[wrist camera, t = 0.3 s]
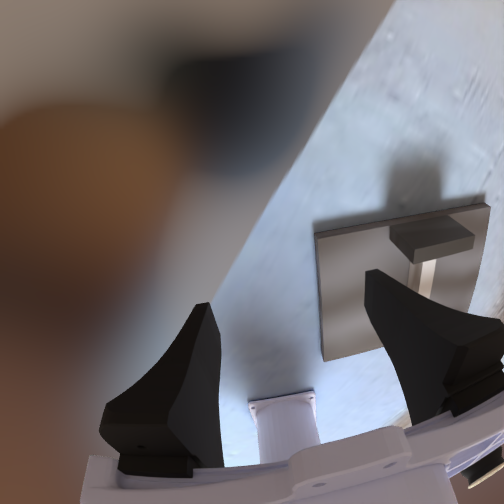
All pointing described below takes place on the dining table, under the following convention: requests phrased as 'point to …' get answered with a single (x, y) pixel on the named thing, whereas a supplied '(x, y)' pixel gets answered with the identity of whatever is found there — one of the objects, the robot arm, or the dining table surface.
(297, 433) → the robot arm
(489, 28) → the dining table surface
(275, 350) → the dining table surface
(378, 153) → the dining table surface
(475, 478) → the travel mug
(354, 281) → the rail board
